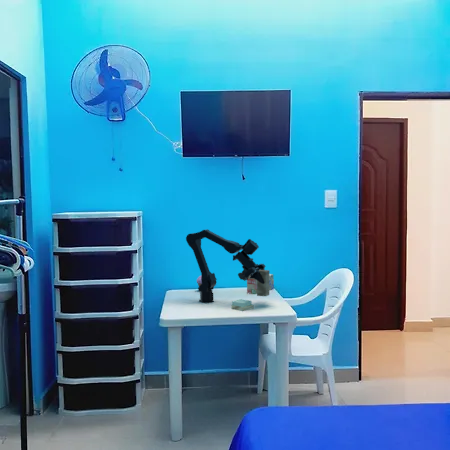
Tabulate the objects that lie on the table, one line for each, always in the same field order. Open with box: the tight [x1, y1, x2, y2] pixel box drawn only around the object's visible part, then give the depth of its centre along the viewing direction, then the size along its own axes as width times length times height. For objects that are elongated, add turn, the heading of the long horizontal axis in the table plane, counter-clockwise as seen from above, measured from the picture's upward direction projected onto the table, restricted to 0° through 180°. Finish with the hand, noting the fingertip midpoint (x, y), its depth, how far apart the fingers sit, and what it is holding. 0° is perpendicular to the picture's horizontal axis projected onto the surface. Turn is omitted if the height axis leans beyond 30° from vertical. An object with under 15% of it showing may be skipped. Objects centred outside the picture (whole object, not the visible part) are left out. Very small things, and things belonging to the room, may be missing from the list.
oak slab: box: [231, 303, 254, 312], centre depth 238 cm, size 8×8×2 cm
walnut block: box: [256, 269, 270, 297], centre depth 242 cm, size 5×5×13 cm
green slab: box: [231, 298, 252, 307], centre depth 238 cm, size 7×7×2 cm
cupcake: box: [196, 275, 202, 287], centre depth 288 cm, size 9×9×10 cm
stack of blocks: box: [246, 273, 275, 295], centre depth 284 cm, size 21×6×12 cm, turn 144°
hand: (265, 282), depth 242 cm, fingers closed on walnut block, 5 cm apart
